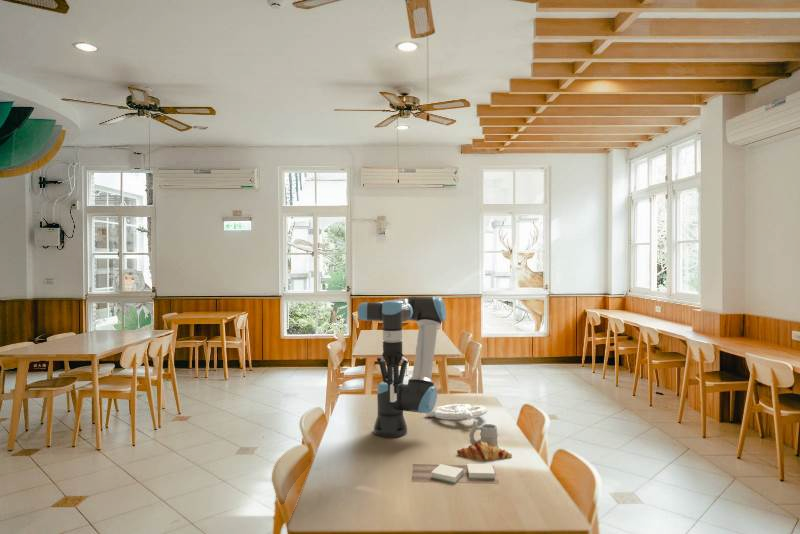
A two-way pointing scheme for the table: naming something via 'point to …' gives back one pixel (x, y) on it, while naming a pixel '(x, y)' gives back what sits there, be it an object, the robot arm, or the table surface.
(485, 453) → the croissant
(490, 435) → the mug
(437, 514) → the table surface
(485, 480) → the board
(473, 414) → the white flat coiled piece
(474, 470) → the tile
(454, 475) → the tile
